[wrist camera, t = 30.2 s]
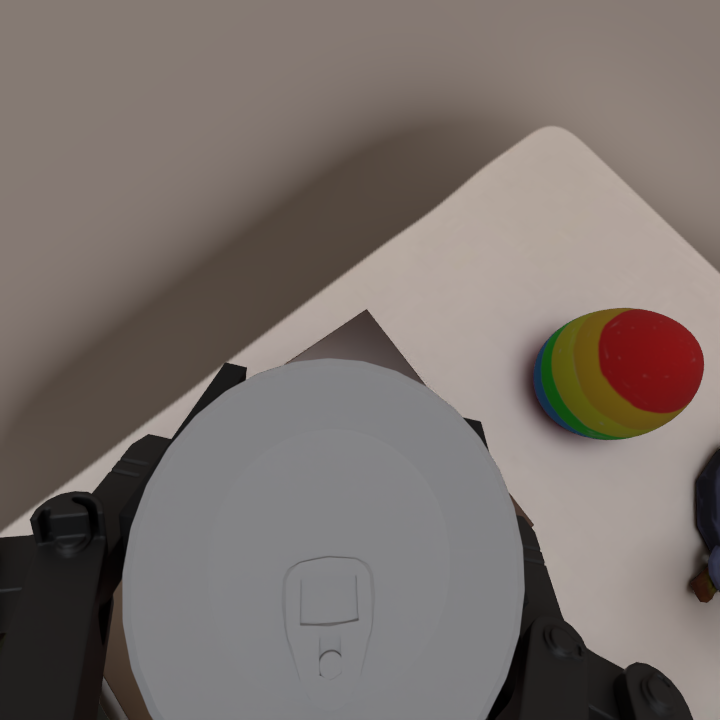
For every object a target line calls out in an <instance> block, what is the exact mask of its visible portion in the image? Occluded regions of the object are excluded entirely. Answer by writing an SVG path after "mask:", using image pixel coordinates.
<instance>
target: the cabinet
mask: <svg viewBox="0 0 720 720" xmlns="http://www.w3.org/2000/svg"><path fill="white" fill-rule="evenodd" d="M326 358H332V359H343V360H355V361H364V362H367V363H371V364H374V365H378V366H381V367H384V368H388V369H391V370H395V371H397V372H399V373H401V374H403V375H405V376H407V377H409V378H411V379H413V380H415V381H417V382H418V383H420V384H422V385H424V386H426V385H425V384H424V382H423V381H422V380H421V379H420V377H419V376H418V375H417V373H416V372H415V371H414V370H413V368H412V367H411V366H410V364H409V363H408V362H407V361H406V359H405V358H404V357H403V355H402V354H401V353H400V351H399V350H398V349H397V348H396V346H395V345H394V344H393V342H392V341H391V340H390V339H389V337H388V336H387V335H386V333H385V332H384V331H383V330H382V328H381V327H380V326H379V324H378V323H377V322H376V321H375V319H374V318H373V317H372V315H371V314H370V313H369V312H368V310H365V311H363V312H362V313H360V314H359V315H357V316H356V317H354V318H353V319H351V320H350V321H348V322H347V323H345V324H344V325H342V326H341V327H339V328H338V329H336V330H335V331H333V332H332V333H330V334H329V335H327V336H326V337H324V338H323V339H322V340H320V341H319V342H317V343H316V344H314V345H313V346H311V347H310V348H308V349H307V350H305V351H304V352H302V353H301V354H299V355H298V356H296V357H295V358H293V359H292V360H290V361H289V362H287V363H286V364H289V363H292V362H299V361H308V360H317V359H326ZM286 364H284V365H286ZM426 387H427V386H426ZM509 495H510V493H509ZM510 498H511V500H512V503H513V505H514V508H515V513H516V515H519V516H523V517H524V518H525V519H526V521H527V522H528V523H529V525H530V526H531V527H532V526H533V525H534V524H533V523H532V522H531V520H530V519H529V518H528V517H527V515H526V514H525V513H524V511H523V510H522V509H521V507H520V506H519V505H518V504H517V502H516V501H515V500H514V498H513V497H512V496H511V495H510Z"/></svg>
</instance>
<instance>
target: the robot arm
mask: <svg viewBox="0 0 720 720" xmlns="http://www.w3.org/2000/svg"><path fill="white" fill-rule="evenodd" d="M246 371H247V367H242V366H238V365H234V364H229V363H225V364H224V365H223V367H222V368H221V369H220V371H219V372H218V374H217V375H216V377H215V378H214V379H213V381H212V382H211V384H210V385H209V387H208V388H207V389H206V391H205V392H204V394H203V395H202V396H201V398H200V399H199V401H198V402H197V404H196V405H195V406H194V408H193V409H192V411H191V412H190V414H189V415H188V416H187V418H186V419H185V421H184V422H183V423H182V425H181V426H180V428H179V429H178V431H177V432H176V433H175V435H174V436H173V438H172V439H168V438H164V437H159V436H155V435H150V434H148V435H146V436H145V437H143V438H141V439H140V440H138V441H137V442H135V443H133V444H132V445H131V446H130V447H129V449H128V450H127V451H126V452H125V454H124V455H123V456H122V457H121V460H120V461H118V462H117V463H116V465H115V466H114V467H113V468H112V471H111V472H109V473H108V474H107V476H106V477H105V478H104V479H103V481H102V482H101V483H100V484H99V486H98V487H97V488H96V489H95V490H94V492H93V493H92V494H91V493H89V492H78V491H74V492H69V493H64V494H60V495H58V496H56V497H53V498H51V499H49V500H47V501H46V502H45V503H43V504H42V505H41V506H40V507H38V508H37V509H36V510H35V512H34V514H33V515H32V517H31V518H30V522H31V526H32V530H33V534H34V535H29V536H16V537H3V538H0V642H1V640H2V638H3V637H4V635H5V633H6V632H7V635H6V638H5V641H4V644H3V647H2V650H1V653H0V720H97V714H98V707H99V701H100V694H101V687H102V681H103V674H104V667H105V660H106V654H107V647H108V640H109V634H110V627H111V620H112V613H113V607H114V596H113V593H114V591H115V590H116V588H117V586H118V585H119V583H120V581H121V580H122V578H123V568H124V563H125V557H126V552H127V546H128V540H129V535H130V529H131V526H132V523H133V520H134V518H135V515H136V512H137V510H138V507H139V504H140V501H141V499H142V496H143V493H144V491H145V488H146V485H147V483H148V482H149V480H150V478H151V477H152V475H153V473H154V471H155V470H156V468H157V466H158V465H159V463H160V461H161V459H162V458H163V456H164V454H165V453H166V451H167V449H168V447H169V446H170V445H171V444H172V443H173V442H174V440H175V439H176V438H177V437H178V436H179V435H180V433H181V432H182V431H183V430H184V429H185V427H186V426H187V425H188V424H189V423H190V422H191V420H192V419H193V418H194V417H195V416H196V415H197V414H198V413H200V412H201V411H202V410H203V409H204V408H206V407H207V406H208V405H209V404H211V403H212V402H213V401H214V400H215V399H217V398H218V397H219V396H220V395H222V394H223V393H224V392H225V391H227V390H229V389H231V388H232V387H234V386H236V385H238V384H240V383H242V382H243V381H245V380H246ZM463 419H464V420H465V421H466V422H467V423H468V424H469V425H470V427H471V428H472V429H473V430H474V431H475V432H476V433H477V435H478V436H479V437H480V438H481V440H482V442H483V443H484V445H485V447H486V448H487V450H488V446H487V443H486V439H485V435H484V431H483V428H482V424H481V422H480V421H476V420H472V419H467V418H463ZM488 452H489V450H488ZM516 518H517V523H518V527H519V532H520V537H521V541H522V546H523V563H524V585H525V592H524V601H523V609H522V617H521V626H520V634H519V638H518V641H517V644H516V648H515V651H514V654H513V658H512V661H511V664H510V668H509V671H508V674H507V678H506V680H505V682H504V684H503V686H502V688H501V690H500V692H499V694H498V696H497V698H496V700H495V702H494V704H493V706H492V708H491V710H490V712H489V714H488V716H487V718H486V719H485V720H693V718H692V716H691V713H690V710H689V708H688V706H687V704H686V702H685V700H684V698H683V696H682V694H681V693H680V691H679V690H678V689H677V688H676V686H675V685H674V684H673V683H672V681H671V680H670V679H668V678H667V677H666V676H665V675H664V674H663V673H661V672H660V671H659V670H657V669H656V668H654V667H652V666H650V665H648V664H645V663H638V662H636V663H634V664H631V665H629V666H628V667H627V668H626V669H625V670H624V669H623V668H621V667H619V666H617V665H615V664H613V663H612V662H610V661H608V660H606V659H604V658H602V657H600V656H599V655H597V654H595V653H594V652H592V651H590V650H589V649H587V648H586V646H585V644H584V642H583V640H582V638H581V636H580V635H579V634H578V633H577V632H576V630H575V629H574V628H573V627H572V626H571V625H570V624H568V623H567V622H566V621H564V619H563V616H562V614H561V611H560V608H559V605H558V602H557V599H556V596H555V592H554V589H553V586H552V583H551V580H550V577H549V574H548V571H547V568H546V566H545V565H544V563H545V562H544V559H543V556H542V553H541V552H540V546H539V543H538V540H537V537H536V534H535V532H534V530H533V529H532V528H531V526H530V525H529V523H528V522H527V521H526V519H525V518H524V517H523V516H519V515H516Z"/></svg>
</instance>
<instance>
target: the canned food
mask: <svg viewBox="0 0 720 720" xmlns="http://www.w3.org/2000/svg"><path fill="white" fill-rule="evenodd" d="M524 592H525V585H524V563H523V546H522V541H521V537H520V532H519V527H518V523H517V518H516V513H515V508H514V505H513V503H512V500H511V498H510V495H509V492H508V490H507V487H506V485H505V482H504V480H503V477H502V475H501V472H500V470H499V468H498V466H497V465H496V463H495V461H494V460H493V458H492V456H491V455H490V453H489V452H488V450H487V448H486V447H485V445H484V443H483V442H482V440H481V438H480V437H479V436H478V435H477V433H476V432H475V431H474V430H473V429H472V428H471V427H470V425H469V424H468V423H467V422H466V421H465V420H464V419H463V417H462V416H461V415H460V414H459V413H458V412H457V411H456V409H454V408H453V407H452V406H451V405H449V404H448V403H447V402H446V401H444V400H443V399H442V398H440V397H439V396H438V395H437V394H435V393H434V392H433V391H432V390H430V389H429V388H428V387H426V386H424V385H422V384H420V383H418V382H417V381H415V380H413V379H411V378H409V377H407V376H405V375H403V374H401V373H399V372H397V371H395V370H391V369H388V368H384V367H381V366H378V365H374V364H371V363H367V362H364V361H355V360H343V359H332V358H326V359H317V360H308V361H299V362H292V363H289V364H286V365H283V366H280V367H276V368H273V369H270V370H267V371H264V372H261V373H258V374H256V375H254V376H253V377H251V378H249V379H247V380H245V381H243V382H242V383H240V384H238V385H236V386H234V387H232V388H231V389H229V390H227V391H225V392H224V393H223V394H222V395H220V396H219V397H218V398H217V399H215V400H214V401H213V402H212V403H211V404H209V405H208V406H207V407H206V408H204V409H203V410H202V411H201V412H200V413H198V414H197V415H196V416H195V417H194V418H193V419H192V420H191V422H190V423H189V424H188V425H187V426H186V427H185V429H184V430H183V431H182V432H181V433H180V435H179V436H178V437H177V438H176V439H175V440H174V442H173V443H172V444H171V445H170V446H169V447H168V449H167V451H166V453H165V454H164V456H163V458H162V459H161V461H160V463H159V465H158V466H157V468H156V470H155V471H154V473H153V475H152V477H151V478H150V480H149V482H148V483H147V485H146V488H145V491H144V493H143V496H142V499H141V501H140V504H139V507H138V510H137V512H136V515H135V518H134V520H133V523H132V526H131V529H130V535H129V540H128V546H127V552H126V557H125V563H124V568H123V627H124V632H125V637H126V643H127V648H128V653H129V659H130V664H131V669H132V672H133V674H134V677H135V679H136V682H137V684H138V687H139V689H140V692H141V694H142V696H143V699H144V701H145V704H146V706H147V709H148V711H149V714H150V715H151V717H152V718H153V720H485V719H486V718H487V716H488V714H489V712H490V710H491V708H492V706H493V704H494V702H495V700H496V698H497V696H498V694H499V692H500V690H501V688H502V686H503V684H504V682H505V680H506V678H507V674H508V671H509V668H510V664H511V661H512V658H513V654H514V651H515V648H516V644H517V641H518V638H519V634H520V626H521V617H522V609H523V601H524Z"/></svg>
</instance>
